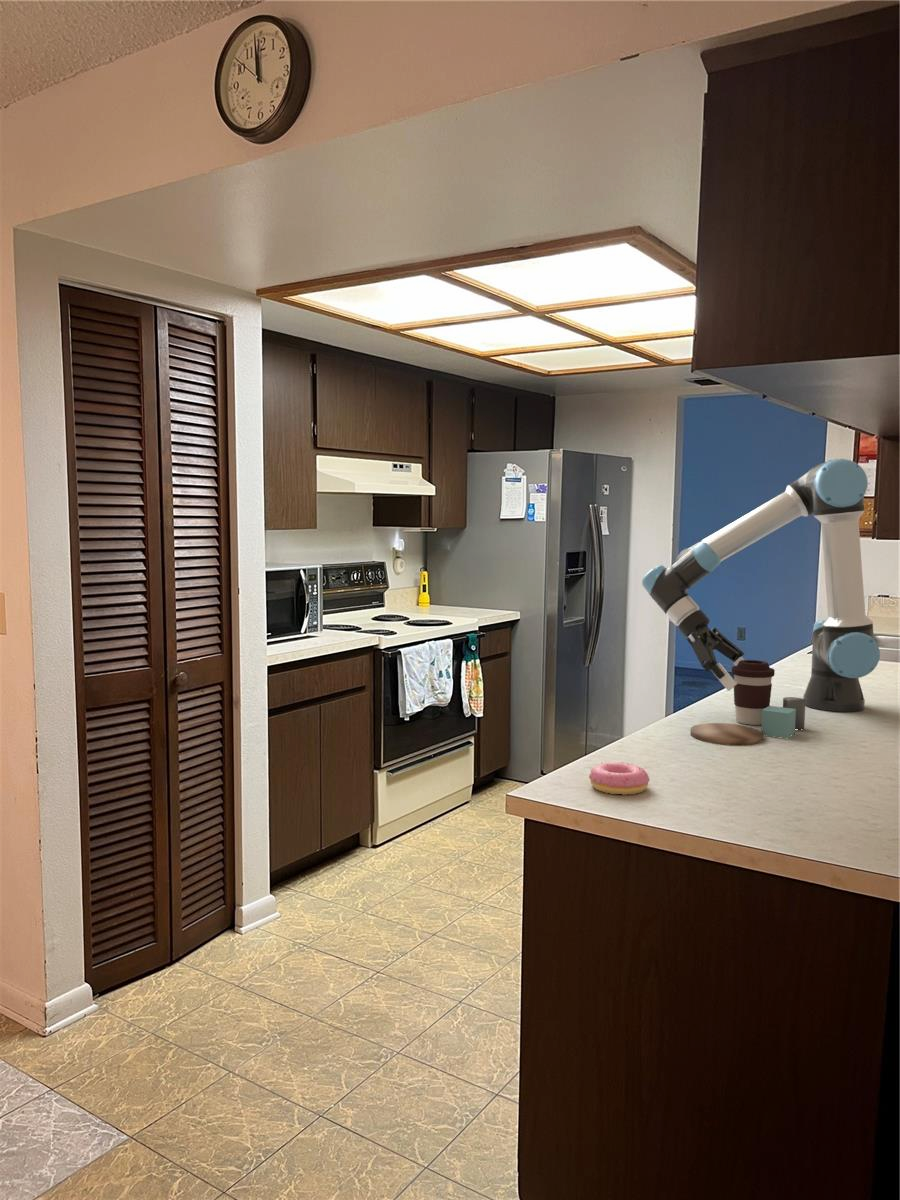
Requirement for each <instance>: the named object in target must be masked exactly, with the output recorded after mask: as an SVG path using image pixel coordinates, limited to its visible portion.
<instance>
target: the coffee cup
mask: <svg viewBox="0 0 900 1200" xmlns="http://www.w3.org/2000/svg"><path fill="white" fill-rule="evenodd" d="M775 672H776V671H775V668H772V667H770V665H769V663H768V662H767V661H763V660H757V659H744V660H741V661H739V662H738V664H737V666H735V665H733V666H732V667H731V675H734V676H733V679H734V680H735V682H736V683H737V685H736V686H734V687H733V703H734V709H735V710H734V711H735V721H736V722H737V723H739V724H743V725H747V724H748V725H749V726H761V723H762V710H763V709H765V708H766V707H768V706H771V705H770V703H771V696H772V695H771V694H772V687H773V684H772V679H773V678H774V676H775Z"/></svg>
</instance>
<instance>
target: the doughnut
mask: <svg viewBox="0 0 900 1200" xmlns="http://www.w3.org/2000/svg"><path fill="white" fill-rule="evenodd" d="M588 778H589V780H590V784H591V786H592V787H593V788H594V789H595V790H597V791H598V790H599V791H598V792H601V791H602V792H601V793H604V792H605V793H604V794H608V793H610V794H609V795H613V794H622V795H621V796H628V795H627V794H633V795H637V794H636V793H638V794H640V793H642V792H644V791H645V790H646V789H647V788H648V786H649V783H650V780H651V778H650V776H649V773H648V772H647V771H646V770H645V769H644V768H642V767H641V766H639V765H635V764H632V763H627V762H604V763H603V762H601V764H598V765H596V766H594V767H593V768H592V769H590V773H589V774H588Z"/></svg>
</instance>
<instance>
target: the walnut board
mask: <svg viewBox="0 0 900 1200" xmlns="http://www.w3.org/2000/svg"><path fill="white" fill-rule="evenodd" d="M690 736H691V737H693V738H694V739H696V740H699V741H702V742H705V743H706V742H707V743H710V742H711V743H712V744H717V745H726V744H730V745H729V746H748V745H747V744H750V745H755V744H754V743H756V744H759V742H760V743H761V741H762V742H763V741H764V737H765V736H764V734H763V732H762V731H761V729H758V728H754V727H752V726H747V725H741V724H735V723H721V722H717V723H715V722H713V723H711V722H710V723H708V722H707V723H700V724H696V725H692V726H691V727H690ZM743 744H744V745H743Z"/></svg>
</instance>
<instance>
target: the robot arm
mask: <svg viewBox="0 0 900 1200" xmlns="http://www.w3.org/2000/svg"><path fill="white" fill-rule="evenodd" d="M868 483H869V481H868V476H867V474H866V471H865V470H864V469H863V468H862V466H861V465H859V463H857V462H855V461H853V460H850V459H847V458H845V459H844V458H834V459H829V460H828V461H824V462H821V463H819V464H817V465H814V466H813V467H812V468H811V469H810V470H808V471H807V472H806V473H805V474H803V475H802V476H800V477H799V478H798V479H796V480H794V481H793V482H791V483H790V484H788V485H786V488H785V491H783V492H782V493H780V494H778V495H776V496H775V497H773V498H772V499H770V500H768V501H767V502H765V503H763V504H761V505H760V506H758V507H756V508H755V509H753V510H751V511H750V512H748V513H746V514H744V515H743V516H741V517H740V518H738V519H736V520H734V521H733V522H731V523H729V524H727V525H725V526H724V527H722V528H721V529H719V530H718V531H717V530H716V531H715V532H714V533H712V534H710V535H709V536H707V537H705V538H703V539H702V540H701V541H698V542H696V543H695V544H693V545H691V546H690V547H688V548H687V547H686V548H684V549H683V550H681V551H680V552H679V554H678V555H677V557H676V562H674V563H673V564H672V565H671V566H669V567H665V566H664V565H663V564H661V565H657V566H655V567H653V568H651V569H650V570H649V571H647V573H646V574H645V575H644V576H643V578H642V580H641V583H642V587H643V588H644V589H645V591H646V592H647V593H648V595H649V596H650V598H652V600H653V601H654V602H655V603H656V604H657V605H658V607H659V608H660V609H661V610H662V612H664V614H665V615H666V616H667V617H668V621H669V622H672V623H673V624H674V625H675V626H676V627H677V630H678V631H679V632H680V633H681V634H682V635H683V636H684V638H686V640H687V642H688V643H689V644H690V646H691V648H692V649H693V652H694V654H695V656H696V658H697V659H698V661H699V663H700V665H701V667H702V668H703V669H704V670H705V671H706V672H707V673H708V672H709V671H711V672H712V674H713V675H714V676H715V677H716V678H717V679H718V682H720V683H721V684H722V686H723V687H724V688H725V689H726V690H727V692H730V691H731V690H732V689H734V686H736V685H737V683H736V682H735V680H734V677H732V676H731V674H730V673H729V672H728V671H727V670H726V668H725V667H724V666H723V665H722V664H721V663H720V662H719V663H718V662H717V659H716V656H715V653H714V650H716V651H717V652H719V653H720V654H722V655H723V656H725V657H726V658H728V659H729V660H731V661H732V662H733V663H732V664H733V666H737V664H738V662H739V661H741V660H745V658H744V657H743V656H745V652H744V651H742V650H741V649H740V648H739V647H738V646H737V645H736V644H734V643H733V642H732V641H731V640H730V639H728V638H727V637H725V635H723V634H722V633H721V632H720V631H719V629H717V627H713V628H712V629H710V628H709V627H708V625H709V623H710V618H709V617H708V616H707V615H706V613H704V611H703V610H701V609H700V606H699V605H698V604H697V602H695V600H694V599H693V598H692V597H691V596H690V595H689V594H688V593H687V591H688V590H690V589H691V588H692V587H693V586H695V585H696V584H697V583H698V582H700V581H701V580H702V579H703V578H705V577H706V576H707V575H709V574H710V573H712V572H713V571H714V570H715V569H716V568H717V567H718V566H720V564H721V562H722V561H724V560H726V559H728V558H730V557H731V556H733V555H735V554H737V553H738V552H740V551H742V550H744V549H745V548H747V547H749V546H750V545H753V544H754V543H756V542H758V541H759V540H760V539H763V538H765V537H766V536H768V535H770V534H771V533H773V532H776V531H777V530H778V529H780V528H782V527H784V526H786V525H787V524H789V523H791V522H792V521H794V520H796V519H797V518H799V517H806V518H807V517H809V516H810V515H812V514H813V517H814V518H815V519H816V520H817V521H819V522H820V525H821V526H820V527H821V539H822V540H821V541H822V550H823V551H822V552H823V554H822V555H823V562H824V563H823V564H824V565H823V567H824V578H825V579H824V581H825V591H826V604H827V605H826V606H827V607H826V608H827V618H826V620H816V621H815V622H814V623H813V630H812V632H811V633H812V651H811V672H810V673H811V675H810V678H809V681H808V683H807V686H806V689H805V692H804V693H803V698H802V699H805V700H806V701H805V707H808V708H811V709H816V710H821V711H829V712H830V711H831V712H858V711H859V712H861V711H863V710H864V709H865V704H866V703H865V701H866V700H865V697H864V694H863V690H862V687H861V684H860V679H859V678H864V677H866V676H868V675H869V674H871V673H872V672H873V671H874V670H875V668H877V666H878V664H879V662H880V657H881V651H880V647H879V645H878V643H877V641H876V640H875V638H874V637H875V635H874V634H875V633H874V625H873V623H874V622H873V620H872V619H870V618H869V617H868V616H867V615H866V606H865V604H866V603H865V592H864V591H865V590H864V578H863V577H864V576H863V563H862V552H861V550H862V549H861V536H860V523H859V519H860V517H861V516H863V515H864V513H865V511H866V510H865V499H864V497H865V495H866V493H867V490H868V485H869V484H868Z"/></svg>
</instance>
